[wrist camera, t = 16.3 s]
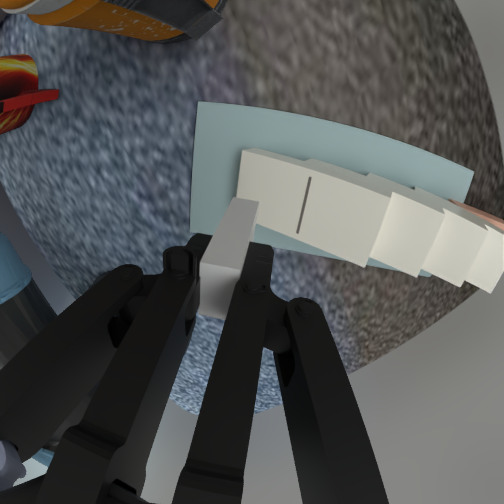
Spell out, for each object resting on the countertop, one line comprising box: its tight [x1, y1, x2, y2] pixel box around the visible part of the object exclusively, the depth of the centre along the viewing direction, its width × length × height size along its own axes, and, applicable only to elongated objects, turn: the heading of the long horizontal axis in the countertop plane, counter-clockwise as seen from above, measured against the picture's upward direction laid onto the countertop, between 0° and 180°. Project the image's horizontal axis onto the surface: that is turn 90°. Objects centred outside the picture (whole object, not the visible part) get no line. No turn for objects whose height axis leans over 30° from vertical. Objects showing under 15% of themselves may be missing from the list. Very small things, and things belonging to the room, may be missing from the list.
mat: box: [190, 101, 474, 277], centre depth 23 cm, size 25×12×1 cm, turn 82°
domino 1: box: [236, 148, 392, 268], centre depth 20 cm, size 2×5×11 cm
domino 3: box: [367, 173, 489, 287], centre depth 20 cm, size 2×5×11 cm
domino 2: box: [305, 158, 445, 278], centre depth 20 cm, size 2×5×11 cm
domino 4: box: [414, 186, 504, 293], centre depth 19 cm, size 2×5×11 cm
